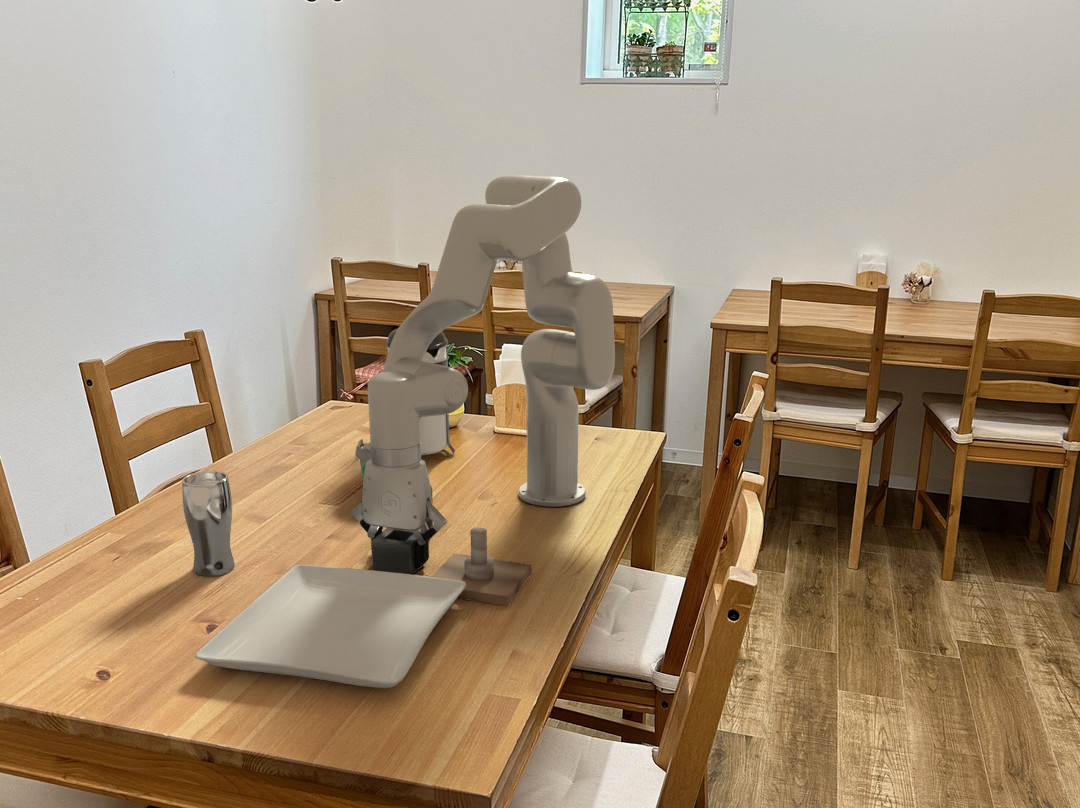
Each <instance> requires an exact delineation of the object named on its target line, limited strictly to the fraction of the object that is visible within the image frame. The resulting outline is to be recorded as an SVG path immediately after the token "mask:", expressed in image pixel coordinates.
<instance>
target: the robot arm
mask: <svg viewBox="0 0 1080 808" xmlns="http://www.w3.org/2000/svg"><path fill="white" fill-rule="evenodd" d="M484 197H485V203H479V204H477V203H475V204H470V205H466V206H463V207H462V208H460V209H459V210H458V211H457V213H456V214H455V217H454V219H453V220H452V223H451V226H450V230H449V234H448V236H447V239H446V243H445V246H444V248H443V252H442V255H441V259H440V262H439V265H438V269H437V271H436V275H435V279H434V282H433V286H432V287H431V290H430V293H428V295H427V296H426V298H424V299H423V300H422V301H421V302H420V303H419V304H418V305H417V306H415V307H414V308H413V310H412V311H411V312H410V314H409V315H407V317H406V318H405V319H404V320H403V321H402V323H401V324H400V325H399V326H398V328H397V329H398V330H397V331H396V333H395V335H394V337H393V340H392V342H391V345H390V348H389V352H388V351H387V355H386V359H385V361H384V365H383V369H382V372H379V373H376V374H374V375H373V376H371V377H370V378H369V380H368V383H367V398H368V399H367V401H368V403H367V405H368V420H369V422H368V423H369V440H370V441H369V442H365V443H363V444H364V446H363V450H364V451H365V452H368V453H370V459H371V460H369V461H367V462H366V467H365V473H364V480H362V493H361V495H362V497H361V499H362V500H361V502H359V503H358V504H357V505H356V506H355V507H354V508H353V509H352V510H351V515H352V516H353V518H355V519H356V520H357V522H359V524H360V526H361V527H362V528H363V530H364V531H365V532H366V534H367V537H368V538H369V539H370V542H371V541H372V540H373V539H374V538H375V537H377V536H378V535H379V534H380V533H381V532H383V529H384V528H385V529H386V528H393V529H401V530H409V531H412V532H413V534H414V536H415V538H416V540H417V544H416V545H415V547H414V549H415V567H416V568H417V569H418V570H420V569H421V568H422V567H423V566H424V565H426V563H427V562H428V561H429V558H430V545H429V543H430V542H429V541H430V540H431V539H432V538H433V537H434V536H435V535H436V534H437V533H438V532H439V531H440V530H441V529H442V528H443V527H444V526H446V524H447V522H448V520H447V519H446V517H445V516H444V515H443V514H442V513H441V512H440V511H439V510H438V509H437V508H436V507H435V506H434V505H432V502H433V495H432V496H431V488H430V485H431V483H430V478H429V473H428V472H429V471H428V468H427V465H426V464H427V463H426V461H425V460H423V459H422V455H421V441H420V419H421V418H422V417H427V416H439V415H446V414H451V413H454V412H456V411H458V410H459V409H460V408H461V407H462V406H463V405H464V404H465V402H466V401H467V397H468V393H469V385H468V384H469V383H468V381H467V379H466V377H465V376H464V374H462V372H460V371H459V370H457V369H456V368H453V367H450V366H442V365H437V364H433V363H428V362H424V361H423V358H424V355H425V353H426V350H427V348H428V347H429V345H430V343H431V342H432V340H433V339H434V338H435V337H436V336H437V335H438V334H439V333H440V332H441V331H442V332H444V330H446V329H448V328H449V327H451V326H453V325H455V324H457V323H459V322H462V321H464V320H466V319H469V318H470V317H473V316H475V315H477V314H479V313H481V311H482V310H483V308H484V306H485V302H486V300H487V297H488V293H489V289H490V285H491V284H492V280H493V275H494V273H495V270H496V267H497V262H498V261H503V262H504V261H505V262H515V263H517V262H521V268H522V270H521V271H522V280H523V290H524V291H523V293H524V302H525V308H526V313H527V314H528V317H530V319H532V320H533V321H534V322H536V323H539V324H544V325H548V326H555V327H563V328H569V329H573V331H568V330H561V329H555V328H554V329H552V328H543V329H541V328H540V329H538V330H535V331H533V332H531V333H530V334H529V335H528V336H527V337H526V338H525V339H524V342H523V343H522V347H521V352H520V361H521V367H522V372H523V379H524V382H525V391H526V392H525V394H526V482H524V483H523V484H522V485H520V486H519V488H518V496H519V498H520V499H521V500H522V501H525V502H526V503H527V504H530V505H535V506H540V507H547V508H548V507H550V508H551V507H552V508H554V507H557V508H558V507H565V506H572V505H574V504H577V503H579V502H581V501H583V500H584V499H585V497H586V487H584V486H583V484H581V483H579V482H578V475H579V474H578V467H579V465H578V463H579V413H580V411H579V401H578V397H577V394H576V391H575V389H574V388H577V389H583V390H590V391H591V390H592V391H594V390H600V389H602V388H604V387H606V385H608V384H609V382H610V381H611V379H612V376H613V375H614V370H615V363H616V349H615V347H616V343H615V323H614V321H615V320H614V318H615V317H614V306H613V297H612V293H611V291H610V289H609V287H608V285H607V284H606V282H604V280H603V279H601V277H598V276H596V275H593V274H587V273H580V272H579V273H577V272H575V271H573V267H572V264H571V262H572V261H571V254H570V244H569V239H568V236H567V232H568V231H569V230H570V229H571V228H572V227H573V226H574V225H575V223H576V222H577V220H578V218H579V216H580V213H581V210H582V197H581V192H580V190H579V188H578V186H576V184H575V183H574V182H573V181H571V180H570V179H568V178H566V177H565V178H564V177H561V176H538V175H537V176H536V175H503V176H499V177H497V178H495V179H492V180H491V181H490V182H489V183H488V185H487V187H486V190H485V195H484ZM430 519H431V520H432V521H433V526H432V527H431V528H430V529H429V528H428V526H427V523H426V521H428V520H430ZM370 547H371V548H370V549H371V551H372V546H370Z"/></svg>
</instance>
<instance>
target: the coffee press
mask: <svg viewBox="0 0 1080 808" xmlns="http://www.w3.org/2000/svg"><path fill="white" fill-rule="evenodd" d="M397 330H398V328H395V329H394V330H392V331H391V332H390V333H389V335H388V337H387V339H386V340H385V346H386V349H387V353H388V352H389V348H390V345H391V342H392V340H393V337H394V335H395V333H396V331H397ZM448 345H449V340H448V338H447V337H446V334H445V333H444V331H441V332H440V333H439V334H438V335H437V336H436V337H435V338H434V339H433V340H432V342H431V343H430V345H429V347H428V348H427V350H426V353H425V355H424V358H423V361H424V362H428V363H433V364H437V365H442V366H447V367H449V366H448V364H449V363H448V356H447V347H448ZM449 414H450V413H449ZM449 414H446V415H439V416H427V417H422V418H421V419H420V441H421V456H425V455H426V456H427V455H431V454H432V455H433V454H437V453H439V452H443V453H444V454H445V455H446V456H447V457H449V456H452V457H453V456H454V455H455V454H456V453H455V452H456V450H455V449H454V447H453V446H452V444H451V441H450V420H449V419H450V416H449ZM447 446H448V448H449V449H450V451H451V452H452V454H451V453H450V452H449V451H448V450H447V449H446V447H447Z"/></svg>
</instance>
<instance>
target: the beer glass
mask: <svg viewBox="0 0 1080 808" xmlns="http://www.w3.org/2000/svg"><path fill="white" fill-rule="evenodd" d="M181 482H182V506H183V514H184V518H185V523H186V526H187V528H188V532H189V535H190V538H191V543H192V546H193V552H194V553H193V554H194V555H193V556H194V557H193V570H192V571H193V573H194V574H195V575H196V576H198V577H201V576H202V578H215V577H221V576H223V575H226V574H228V573H230V572H232V571H233V570H234V569H235V565H236V564H235V560H234V557H233V553H232V549H231V531H232V519H233V499H232V492H231V491H232V490H231V486H230V481H229V475H228V473H227V472H225V471H222V470H221V471H220V470H202V471H198V472H197V471H196V472H194V473H189V474H188V475H186V476H184V477H183V478H182V480H181Z"/></svg>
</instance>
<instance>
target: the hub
mask: <svg viewBox="0 0 1080 808" xmlns="http://www.w3.org/2000/svg"><path fill="white" fill-rule="evenodd" d="M370 544H371V546H372V550H371V561H372V562H371V563H372V570H373V571H382V572H393V573H403V574H411V575H412V574H413V573H414V572H415V571H416V570H417V568H416V567H415V549H414V547H415V545H416V544H417V540H416V538H415V536H414V534H413V532H412V531H409V530H401V529H393V528H386V527H385V529H384V530H382V532H381V533H380V534H379V535H378V536H377V537H375V538H374V539H373V540H372V541H371V540H370ZM371 546H370V547H371ZM417 571H418V570H417ZM417 571H416V572H417ZM416 572H415V573H416ZM415 573H414V574H415ZM414 574H413V575H414Z"/></svg>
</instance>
